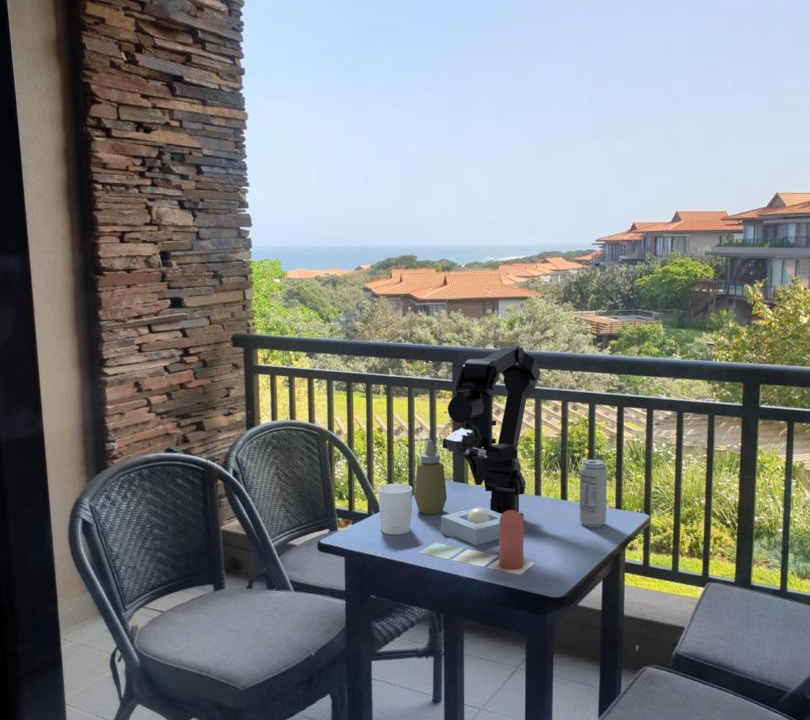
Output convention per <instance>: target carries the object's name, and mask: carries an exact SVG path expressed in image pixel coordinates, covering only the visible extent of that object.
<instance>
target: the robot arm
mask: <svg viewBox="0 0 810 720" xmlns="http://www.w3.org/2000/svg"><path fill="white" fill-rule="evenodd" d="M540 372H541V371H540V367H539V364H538V362H537V361H536V359H535V358H533V357H532V356H531V355H529V354H528V353H526V352H525V350H524V349H523V347H520V346H519V345H517V346H516V345H514V346H513V345H504V346H501V347H500V349H498V350H497V351H495V352H493V353H491V354H490V355H487V356H486V357H484V358H472V359H471V358H470V359H467V360H466V361H465V362H464V364H463V365H462V367H461V370H460V373H459V375H458V379H457V383H456V385H455V392H456V396H455V397H453V398H452V399H451V400H450V401H449V403H448V405H447V413H448V415H449V417H450V419H451V420H453V421H454V422H456V423H458V424H461V426H460V427H461V428H459V429H457V430H455V431H453V432H452V433H450V434H448V435H445V437H444V438H443V439H442V449H446V450H448V452H450V453H452V452H453V453H456V454H458V455H460V456H461V457H462V458H464V460H466V462H467V463H468V466H469V468H470V471H471V474H472V478H473V481H474V484H475V486H476V485H477V486H481V485H482V484H483V482H484V488H485V492H491V493H490V495H491V498H490V506H489V507H490V508H489V509H490V510H492V511H495V512H498V513H501V514H503V513H504V512H505V511H508V510H515V511H517V512H519V511H520V509H519V508H520V504H519V503H520V495H524V494H525V490H526V484H527V482H526V480H525V477H523V474H522V472H521V469H522V466H521V463H520V461H519V458H518V447H519V441H520V437H521V436H520V435H521V430H522V425H523V420H524V413H525V408H526V404H527V398H528V397H529V396H530V395H531V394H532V393H533V391H534V390H535V389H536V386H537V382H538V380H539V379H540V374H541V373H540ZM501 374H502V377H503V381H502V382H503V384H504V386H505V389H506V392H507V395H506V400H505V406H504V409H503V410H504V411H503V417H502V421H501V426H500V432H499V437H498V442H497V439H496V438H493V426H496V425H497V420H494V419H493V407H494V406H493V404H494V402H493V397H494V394H496V390H495V387H496V385H497V383H498V381H499V380H500V375H501ZM519 513H520V514H521V515H522V517H524V514H523V513H522V512H519Z"/></svg>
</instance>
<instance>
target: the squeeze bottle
mask: <svg viewBox="0 0 810 720" xmlns="http://www.w3.org/2000/svg"><path fill="white" fill-rule="evenodd" d="M440 461H441V456H440V454H439V453H437V452H436V450H435V445H434V441H433V440H432V439H428V440H427V444H426V447H425V452H424V453H422V454H421V455H420V462H419V463H418V464H417V466H416V476H415V486H414V487H415V488H414V495H413V496H414V500H415V502H416V503H415V504H416V505H417V508H418V509H417V510H418V512H419V513H421V514H423V515H424V514H425V515H438V514H441V513H442V512H443V511H444V507H445V504H446V502H447V498H448V496H447V486H446V477H445V467H444V464H443V463H442V462H440Z"/></svg>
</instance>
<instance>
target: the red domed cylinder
mask: <svg viewBox="0 0 810 720" xmlns="http://www.w3.org/2000/svg"><path fill="white" fill-rule="evenodd" d="M520 513H521V512H517V511H515V510H508V511H505V512H504V513H503V514H502V515H501V517H500V526H499V539H498V540H499V547H498V549H499V550H498V553H499V554H498V555H499V556H498V559H499V566H500V567H502V568H504V569H509V570H516V569H520V568H522V567H523V561H524V539H525V536H524V534H525V533H524V530H525V529H524V527H525V526H524V524H525V523H524V522H525V521H524V518H523V517H524V516H522V515H521V514H520Z"/></svg>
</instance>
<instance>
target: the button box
mask: <svg viewBox="0 0 810 720" xmlns="http://www.w3.org/2000/svg"><path fill="white" fill-rule="evenodd" d="M476 508H480V509H483V510H485V511H486V512H487V513H488V515H489V521H487V522H484V523H480V524H475V523H473V522H470V521H467V517H468V514H469V513H470V511H472V510H473V509H476ZM501 515H502V514H501V513H498V512H495V511H492V510H490V508H486V507H483V506H477V507H476V506H475V507H473V508H468V509H464V510H461V511H456V512H452V513H448V514H444V515H440V534H443V535H444V534H445V536H446V537H449V536H450V537H449V538H458V539H460V540H462V541H465V542H467V543H469V544H472V545H474V546H478V545H482V544H485V543H489V542H492V541H496V540H499V526H500V517H501Z"/></svg>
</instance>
